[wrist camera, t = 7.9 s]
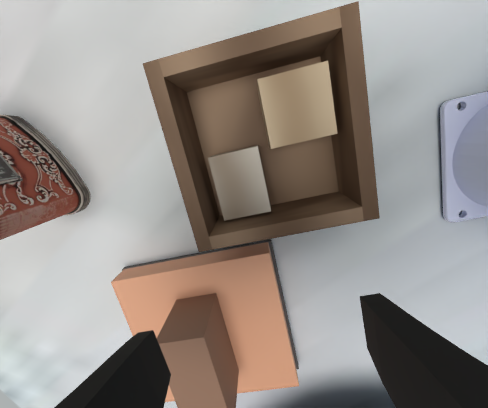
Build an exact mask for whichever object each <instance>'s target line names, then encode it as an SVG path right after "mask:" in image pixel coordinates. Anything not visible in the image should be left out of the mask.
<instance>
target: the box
mask: <svg viewBox="0 0 488 408" xmlns="http://www.w3.org/2000/svg"><path fill="white" fill-rule="evenodd" d="M143 66H144V70H145V73H146V76H147V80H148V83H149V86H150V90H151V93H152V96H153V100H154V103H155V106H156V110H157V113H158V116H159V120H160V123H161V126H162V130H163V133H164V137H165V140H166V143H167V147H168V150H169V153H170V157H171V160H172V163H173V167H174V170H175V173H176V177H177V180H178V183H179V187H180V190H181V193H182V197H183V200H184V203H185V207H186V210H187V213H188V217H189V220H190V223H191V227H192V230H193V233H194V237H195V240H196V244H197V247H198V250H199V252H203V251H208V250H213V249H219V248H224V247H229V246H234V245H240V244H245V243H250V242H256V241H261V240H266V239H272V238H277V237H282V236H288V235H293V234H298V233H303V232H309V231H314V230H319V229H325V228H330V227H335V226H341V225H346V224H351V223H356V222H362V221H367V220H372V219H378V218H379V208H378V198H377V188H376V178H375V167H374V157H373V147H372V137H371V126H370V116H369V106H368V96H367V85H366V75H365V65H364V55H363V44H362V34H361V24H360V13H359V3H358V2H355V3H351V4H348V5H344V6H341V7H337V8H334V9H330V10H327V11H323V12H320V13H316V14H313V15H309V16H306V17H303V18H299V19H296V20H292V21H289V22H285V23H282V24H278V25H275V26H271V27H268V28H264V29H261V30H257V31H254V32H251V33H247V34H244V35H240V36H237V37H233V38H230V39H226V40H223V41H219V42H216V43H212V44H209V45H206V46H202V47H199V48H195V49H192V50H188V51H185V52H181V53H178V54H174V55H171V56H167V57H164V58H160V59H157V60H154V61H150V62H147V63H143Z"/></svg>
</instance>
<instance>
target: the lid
mask: <svg viewBox="0 0 488 408" xmlns="http://www.w3.org/2000/svg"><path fill="white" fill-rule="evenodd" d="M111 283H112V286H113V288H114V291H115V293H116V296H117V298H118V300H119V303H120V305H121V308H122V310H123V313H124V315H125V317H126V320H127V322H128V325H129V327H130V330H131V332H132V335H133V336H134V335H136V334H137V333H138V332H145V331H151V330H153V331H154V333H155V336H156V338H157V341H158V343H159V345H160V348H161V350H162V353H163V355H164V358H165V360H166V363H167V365H168V368H169V370H170V373H171V377H170V382H169V386H168V391H167V395H166V399H165V402H169V401H175V402H176V404H177V407H178V408H236V398H237V393H245V392H253V391H262V390H270V389H279V388H287V387H295V386H299V383H298V376H297V370H296V364H295V360H294V355H293V351H292V346H291V342H290V337H289V333H288V328H287V324H286V319H285V315H284V310H283V306H282V301H281V297H280V293H279V288H278V284H277V279H276V275H275V270H274V266H273V261H272V257H271V252H270V248H269V243H268V242H265V243H260V244H255V245H250V246H244V247H239V248H234V249H228V250H223V251H218V252H212V253H207V254H202V255H197V256H191V257H186V258H181V259H175V260H170V261H165V262H159V263H154V264H149V265H144V266H138V267H133V268H128V269H124V270H123V271H122V272H121V273H120V274H119V275H118V276H117V277H116V278H115V279H114V280H113V281H112V282H111Z"/></svg>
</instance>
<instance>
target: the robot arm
mask: <svg viewBox="0 0 488 408" xmlns="http://www.w3.org/2000/svg"><path fill="white" fill-rule="evenodd" d="M459 103H460V104H461V108H460V110H458V109H457V105H458V104H459ZM440 126H441V160H442V193H443V217H444V219H445V220H447V221H449V222H458V221H464V220H469V219H475V218H481V217H486V216H488V91H486V92H482V93H478V94H473V95H469V96H465V97H461V98H456V99H452V100H448V101H446V102H444V103H443V104H442V106H441V108H440ZM460 211H462V214H461V215H460V216H459V212H460ZM360 301H361V308H362V315H363V322H364V328H365V335H366V342H367V348H368V350H369V353H370V355H371V357H372V360H373V362H374V365H375V367H376V369H377V371H378V374H379V376H380V378H381V380H382V383H383V385H384V387H385V388H386V390H387V392H388V394H389V396H390V398H391V399H392V401H393V403H394V405H395V407H396V408H488V365H486V364H484V363H483V362H481V361H479V360H478V359H476V358H474V357H473V356H471V355H470V354H468V353H467V352H465V351H463V350H462V349H460V348H459V347H457V346H456V345H454V344H453V343H451V342H450V341H448V340H447V339H445V338H443V337H442V336H440V335H439V334H437V333H436V332H434V331H433V330H431V329H430V328H428V327H427V326H426V325H424V324H423V323H421V322H420V321H418V320H417V319H415V318H414V317H413V316H411V315H410V314H408V313H407V312H405V311H404V310H403V309H401V308H400V307H398V306H397V305H396V304H394V303H393V302H391V301H390V300H388V299H387V298H386V297H384V296H383V295H381V294H380V293H379V294H373V295H366V296H360ZM170 377H171V373H170V370H169V368H168V365H167V363H166V360H165V358H164V355H163V353H162V350H161V348H160V345H159V343H158V341H157V338H156V336H155V333H154V331H153V330H151V331H145V332H138V333H137V334H136V335H134V336H133V337H132V338H131V339H129V340H128V341H127V342H126V343H125V344H124V345H123V346H122V347H120V348H119V349H118V350H117V351H116V352H115V353H114V354H113V355H112V356H111V357H110V358H108V359H107V360H106V361H105V362H104V363H103V364H102V365H101V366H100V367H99V368H98V369H97V370H96V371H94V372H93V373H92V374H91V375H90V376H89V377H88V378H87V379H86V380H85V381H84V382H83V383H81V384H80V385H79V386H78V387H77V388H76V389H75V390H74V391H73V392H72V393H70V394H69V395H68V396H67V397H66V398H65V399H64V400H63V401H61V402H60V403H59V404H58V405H57V406H56V407H55V408H163V407H164V403H165V399H166V395H167V391H168V386H169V382H170Z"/></svg>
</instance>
